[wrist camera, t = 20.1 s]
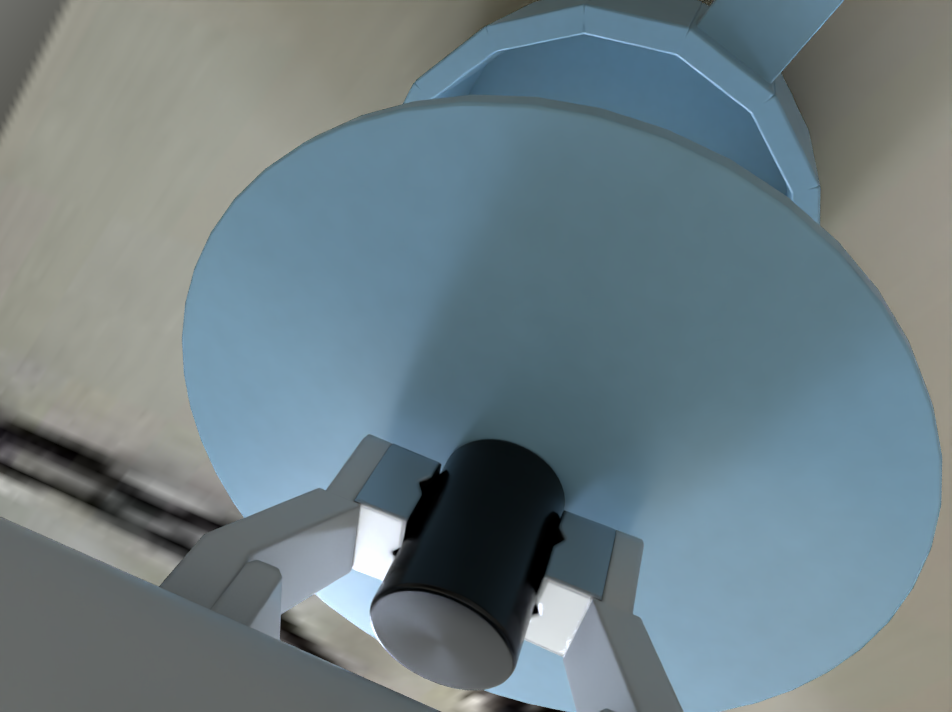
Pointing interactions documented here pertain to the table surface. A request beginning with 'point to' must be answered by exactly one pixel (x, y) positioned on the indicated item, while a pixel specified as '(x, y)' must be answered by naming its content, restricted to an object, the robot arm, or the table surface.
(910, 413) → the pan lid
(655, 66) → the pan
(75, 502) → the table surface
